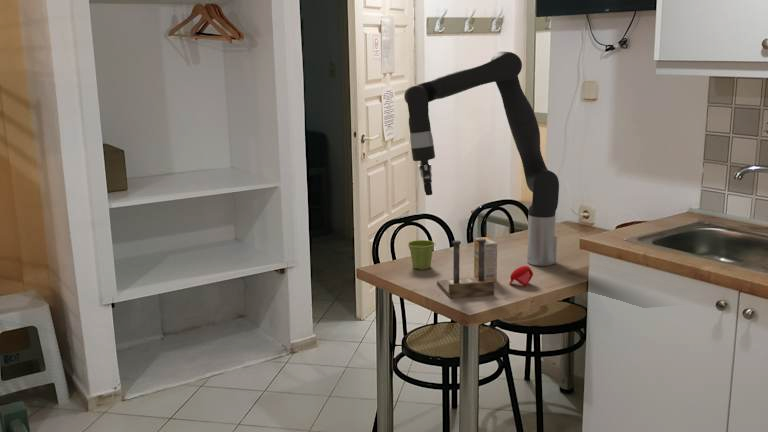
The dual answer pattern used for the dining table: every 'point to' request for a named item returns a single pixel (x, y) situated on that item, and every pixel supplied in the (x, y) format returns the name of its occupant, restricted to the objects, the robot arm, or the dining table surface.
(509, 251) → the dining table surface
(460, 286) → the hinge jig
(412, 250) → the plant pot
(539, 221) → the robot arm
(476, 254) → the supplement box
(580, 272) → the dining table surface
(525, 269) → the cap
